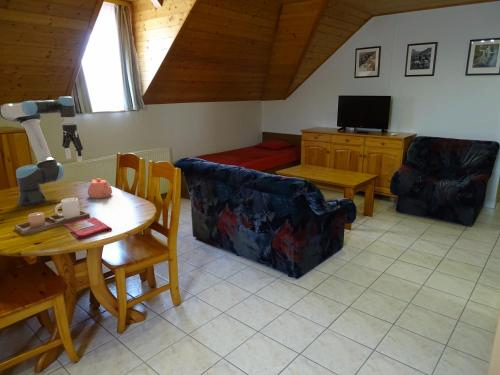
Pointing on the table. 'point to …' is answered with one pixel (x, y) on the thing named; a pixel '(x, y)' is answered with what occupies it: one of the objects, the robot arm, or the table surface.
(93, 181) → the teapot
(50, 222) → the caddy
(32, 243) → the table surface
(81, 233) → the dish towel
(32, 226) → the peach rounded cylinder
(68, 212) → the mug
